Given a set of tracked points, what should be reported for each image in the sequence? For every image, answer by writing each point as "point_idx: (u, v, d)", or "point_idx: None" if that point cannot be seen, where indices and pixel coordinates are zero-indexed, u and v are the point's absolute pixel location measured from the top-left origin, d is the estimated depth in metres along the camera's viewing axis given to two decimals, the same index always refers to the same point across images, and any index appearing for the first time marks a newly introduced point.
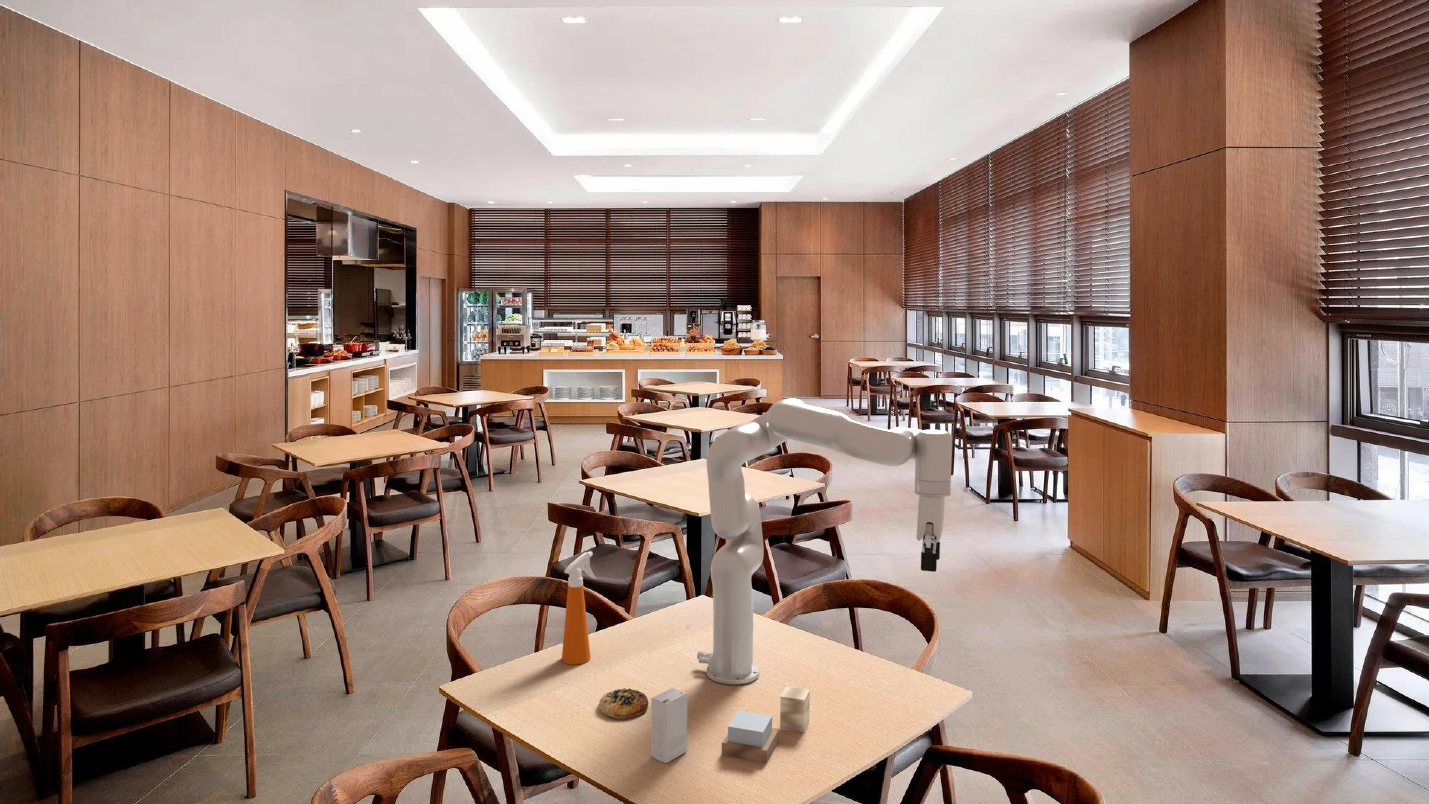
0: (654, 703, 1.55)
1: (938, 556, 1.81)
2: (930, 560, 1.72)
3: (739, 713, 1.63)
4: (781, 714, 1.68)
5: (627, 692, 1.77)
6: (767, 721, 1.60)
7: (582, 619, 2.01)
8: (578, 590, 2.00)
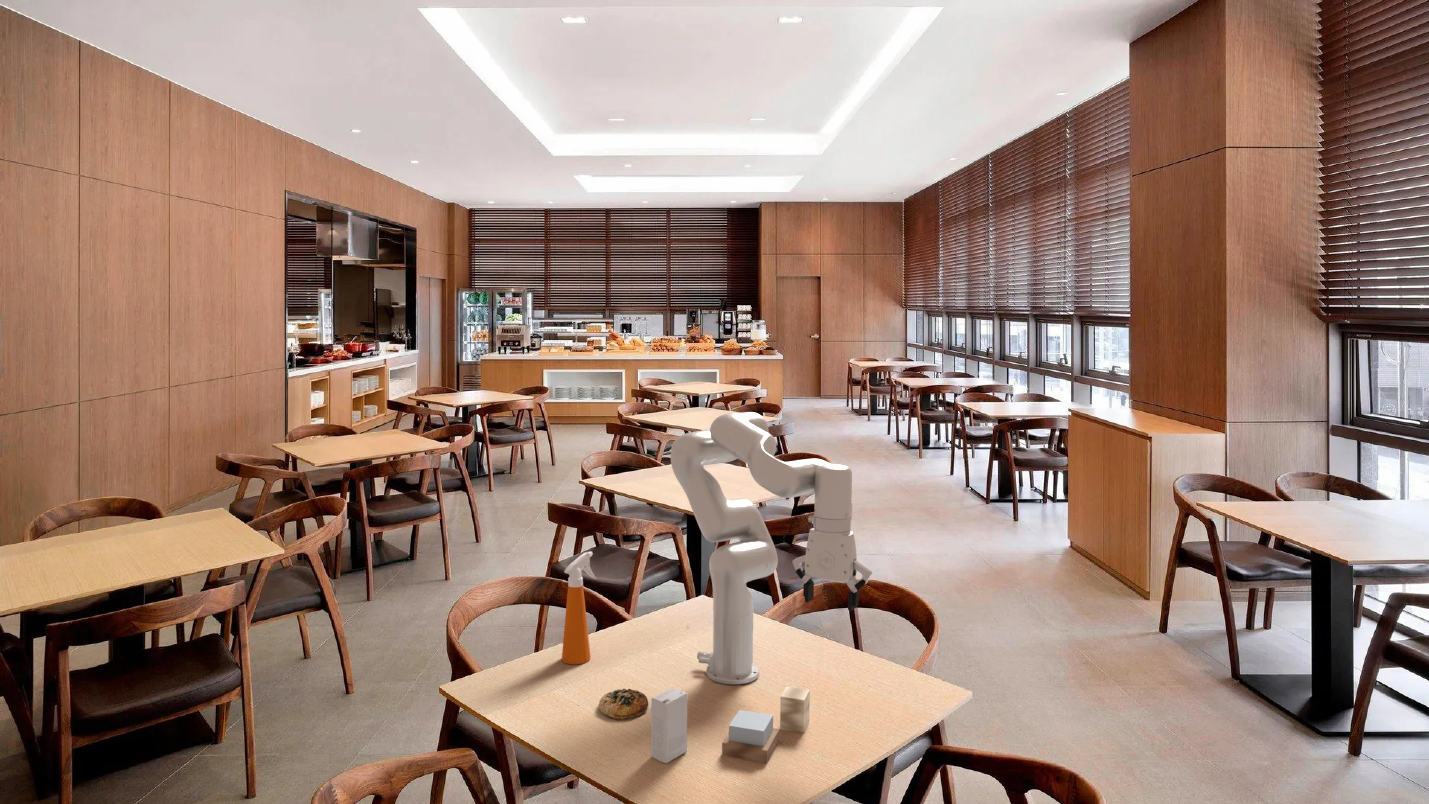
0: (654, 703, 1.55)
1: None
2: (858, 597, 1.67)
3: (740, 712, 1.63)
4: (781, 714, 1.68)
5: (627, 692, 1.77)
6: (768, 720, 1.60)
7: (582, 619, 2.01)
8: (578, 590, 2.00)
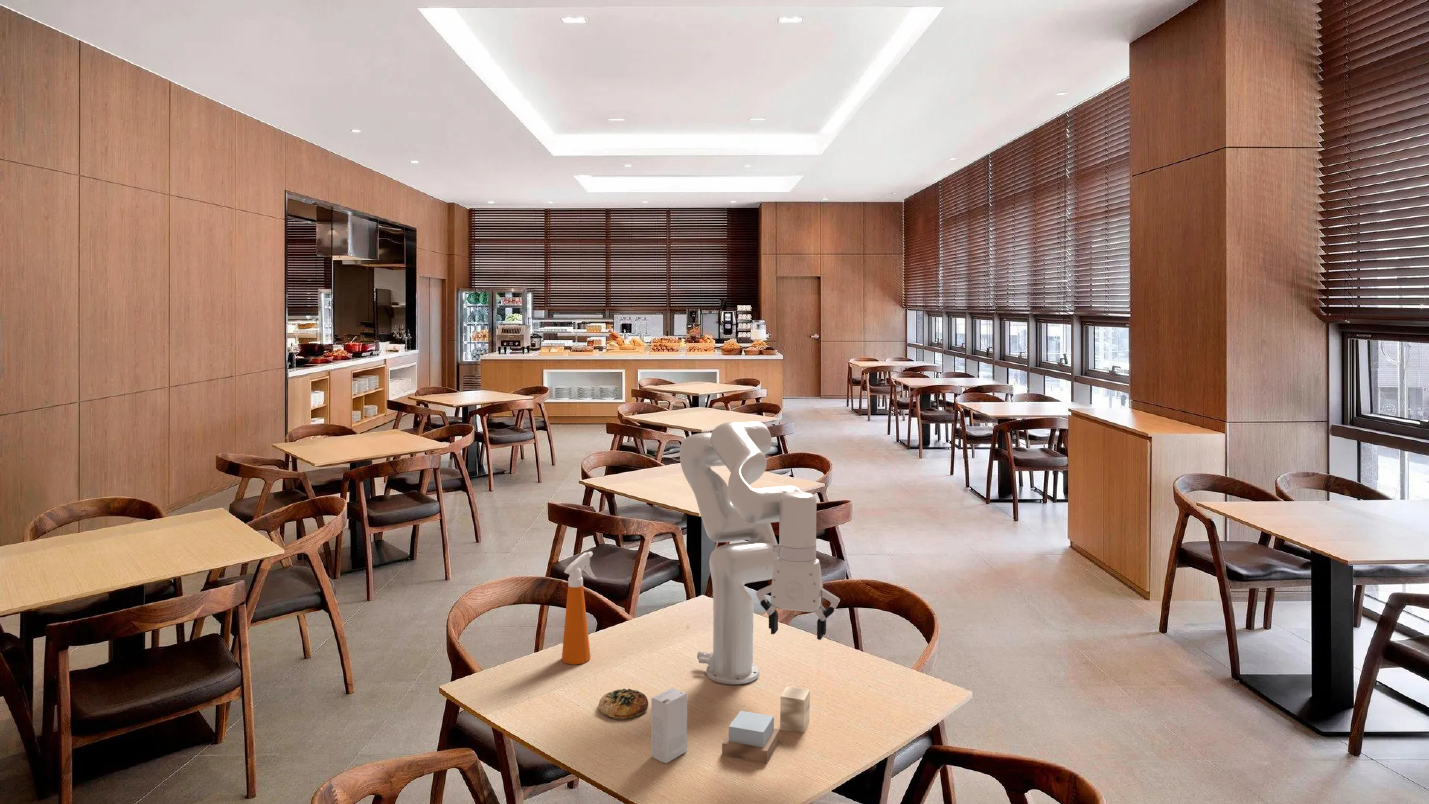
0: (654, 703, 1.55)
1: None
2: (825, 625, 1.66)
3: (741, 713, 1.63)
4: (781, 714, 1.68)
5: (627, 692, 1.77)
6: (768, 721, 1.60)
7: (582, 619, 2.01)
8: (578, 590, 2.00)
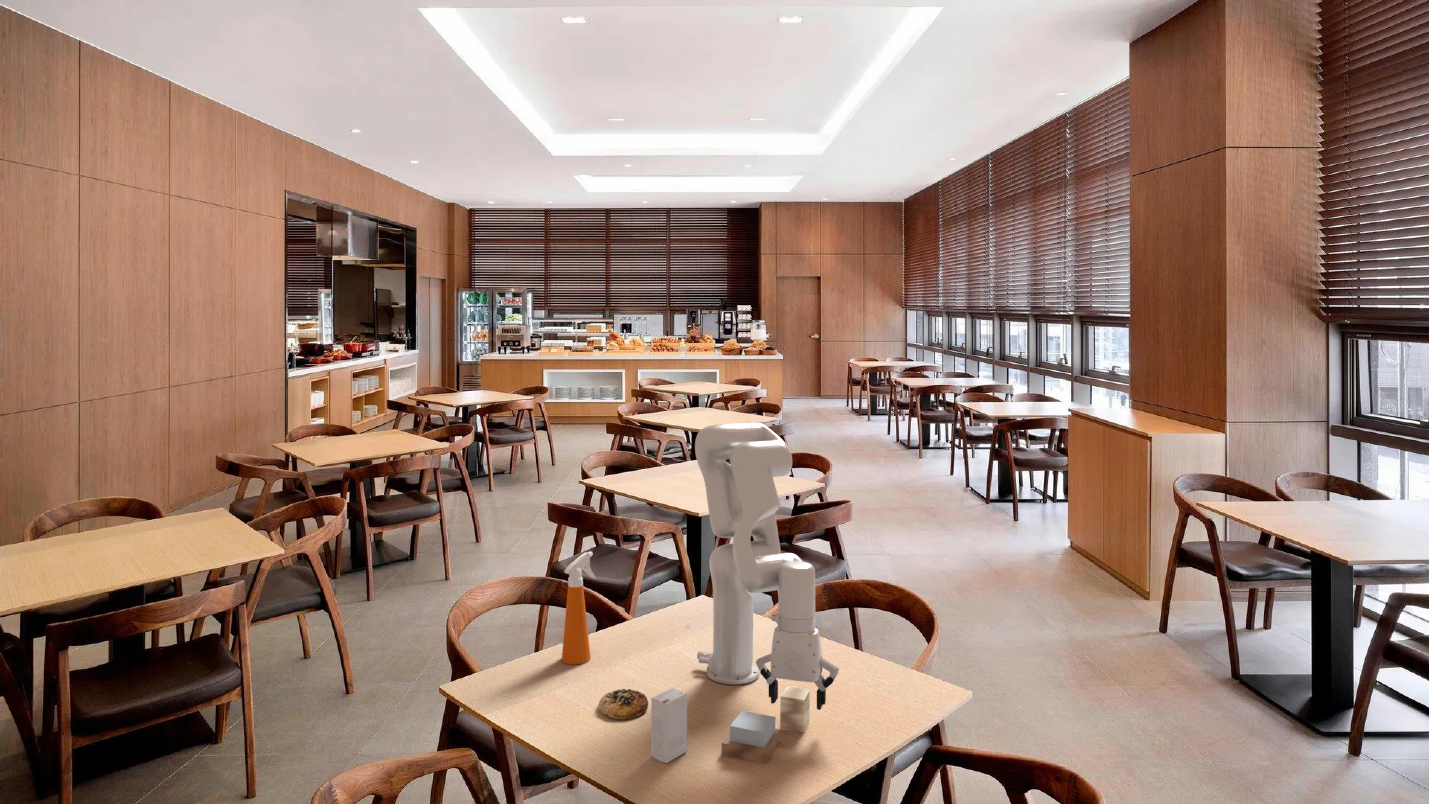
0: (654, 703, 1.55)
1: None
2: (825, 695, 1.67)
3: (743, 713, 1.63)
4: (781, 714, 1.68)
5: (627, 692, 1.77)
6: (770, 722, 1.60)
7: (582, 619, 2.01)
8: (578, 590, 2.00)
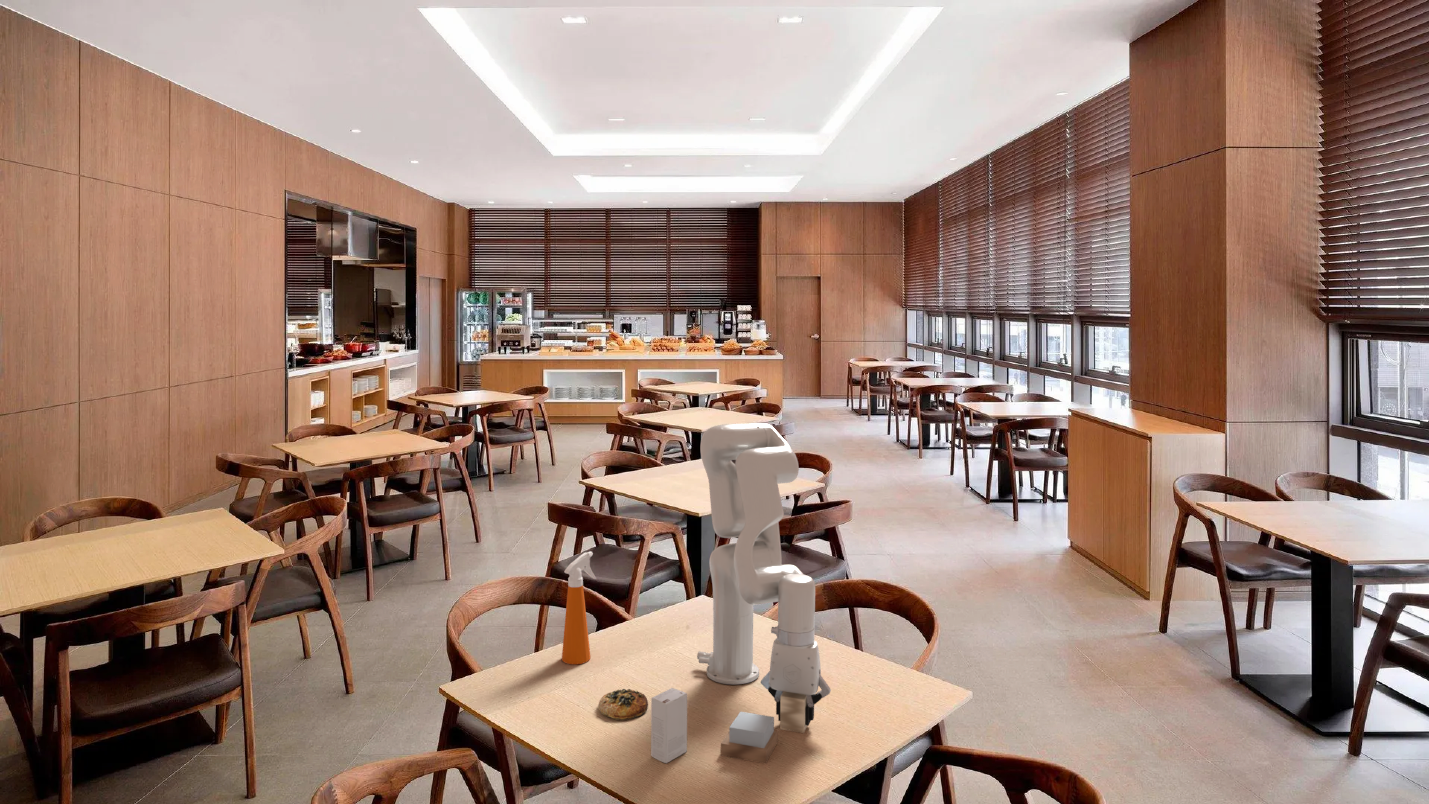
0: (654, 703, 1.55)
1: None
2: (813, 710, 1.68)
3: (741, 713, 1.63)
4: (781, 714, 1.68)
5: (627, 693, 1.76)
6: (769, 722, 1.60)
7: (582, 619, 2.01)
8: (578, 590, 2.00)
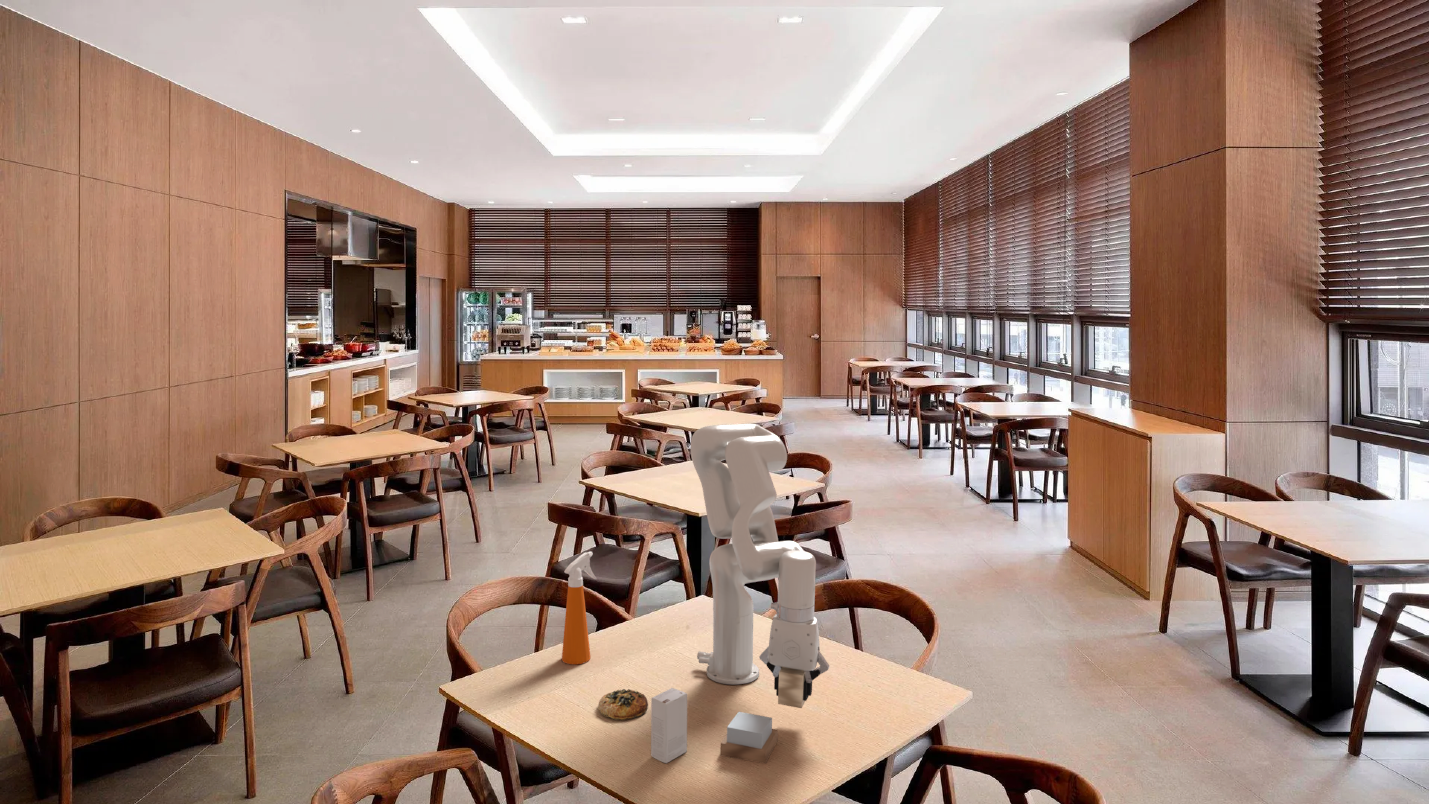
0: (654, 703, 1.55)
1: None
2: (811, 686, 1.69)
3: (739, 714, 1.63)
4: (779, 689, 1.68)
5: (626, 693, 1.76)
6: (767, 723, 1.59)
7: (582, 619, 2.01)
8: (578, 590, 2.00)
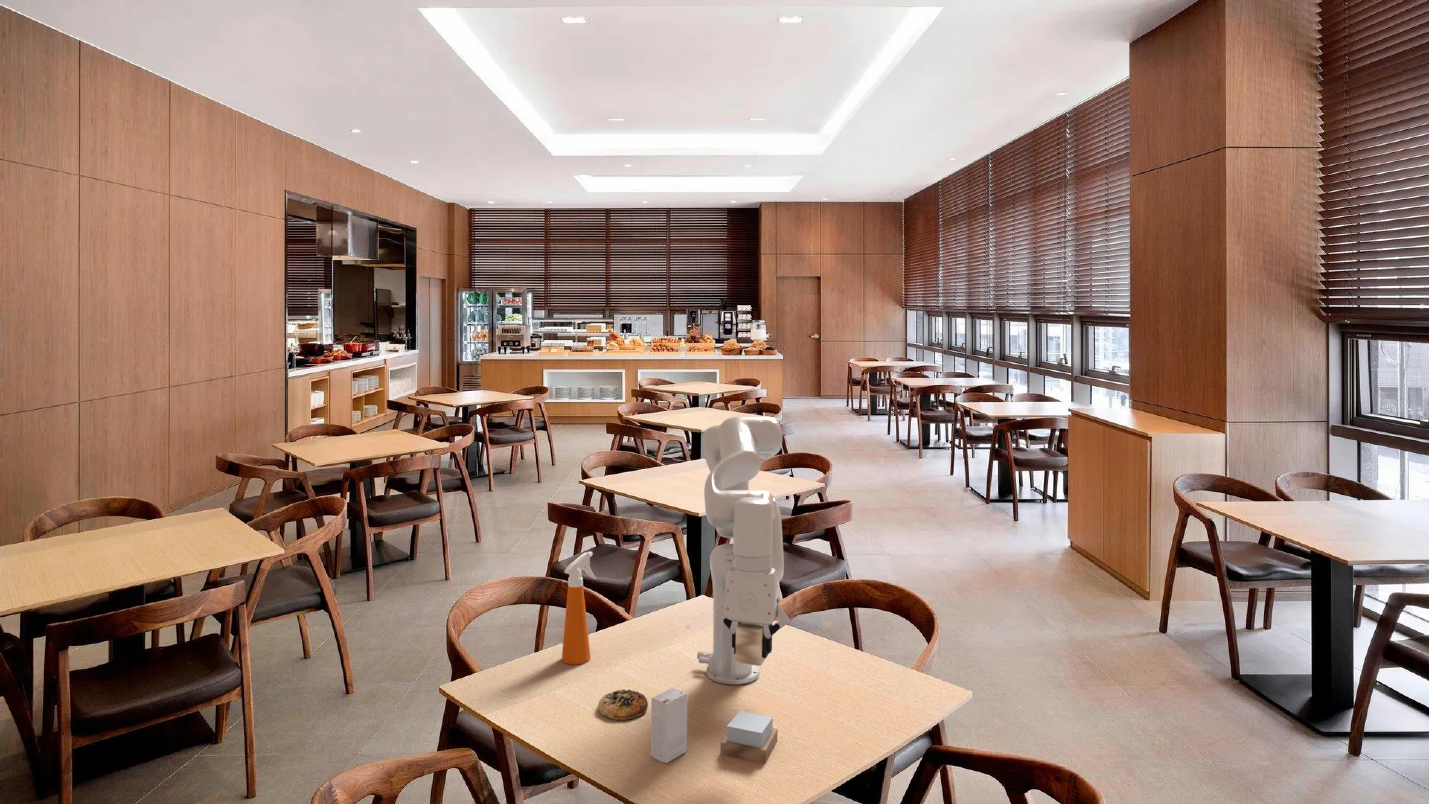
0: (654, 703, 1.55)
1: None
2: (771, 642, 1.58)
3: (740, 713, 1.63)
4: (736, 646, 1.57)
5: (626, 693, 1.76)
6: (767, 722, 1.59)
7: (582, 619, 2.01)
8: (578, 590, 2.00)
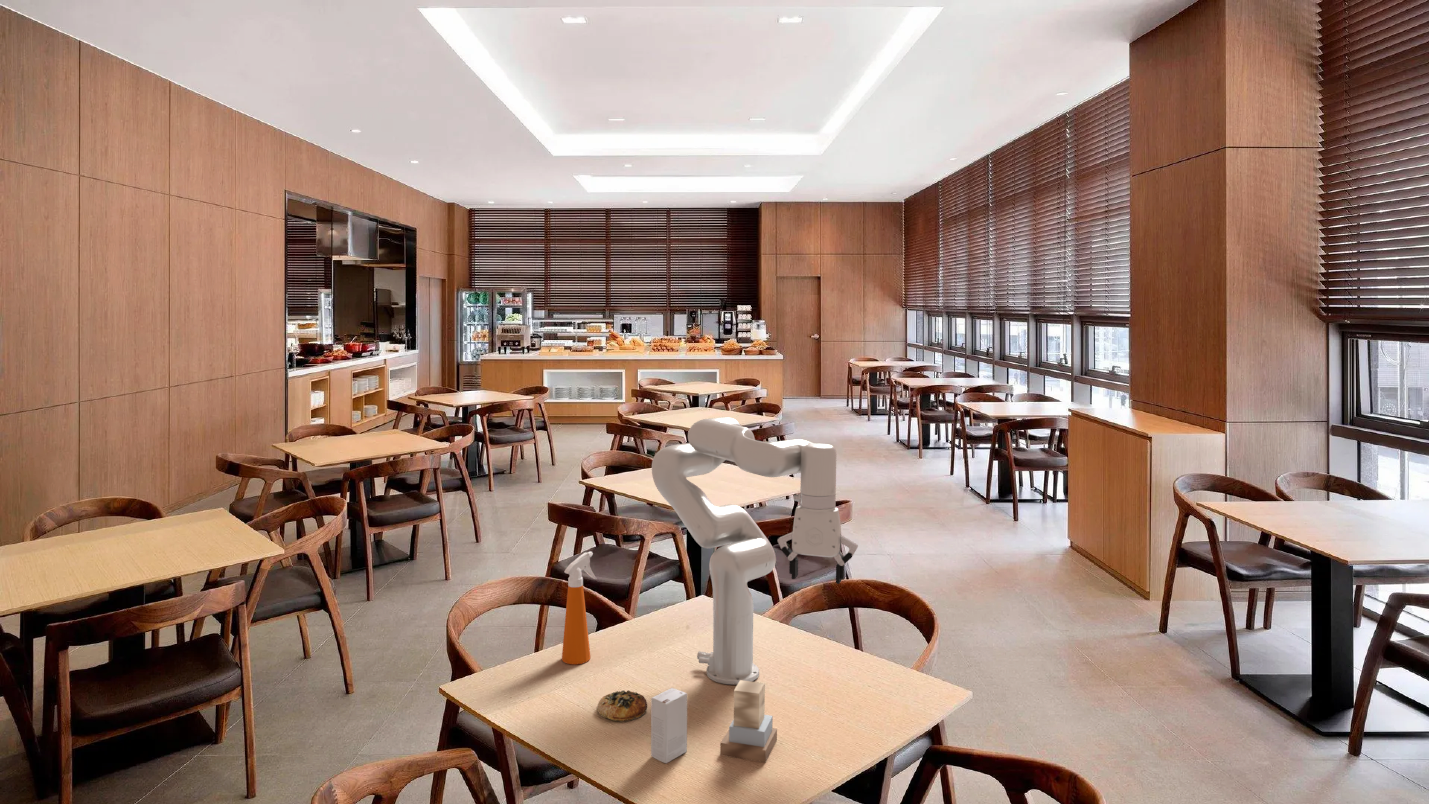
0: (654, 703, 1.55)
1: None
2: None
3: None
4: (735, 709, 1.58)
5: (626, 694, 1.76)
6: (768, 721, 1.60)
7: (582, 619, 2.01)
8: (578, 590, 2.00)
